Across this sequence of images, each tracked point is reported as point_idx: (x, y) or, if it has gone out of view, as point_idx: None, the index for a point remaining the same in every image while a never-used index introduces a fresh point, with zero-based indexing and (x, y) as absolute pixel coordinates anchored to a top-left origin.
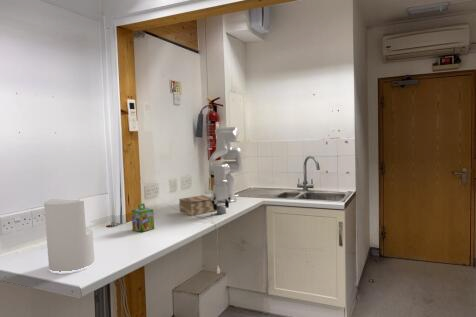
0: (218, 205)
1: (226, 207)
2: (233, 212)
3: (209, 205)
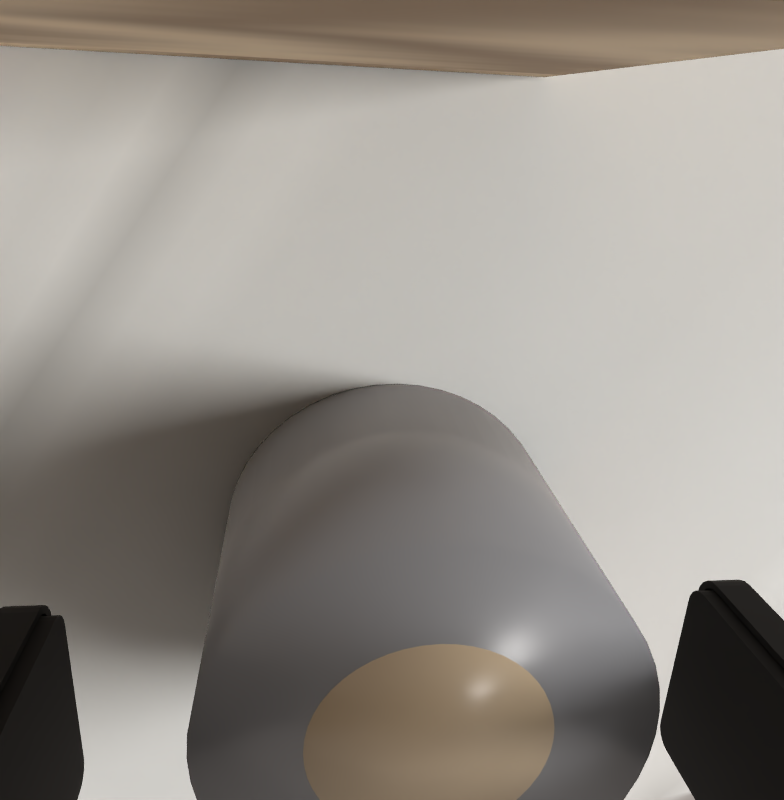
0: (431, 557)
1: (686, 647)
2: None
3: (5, 16)
